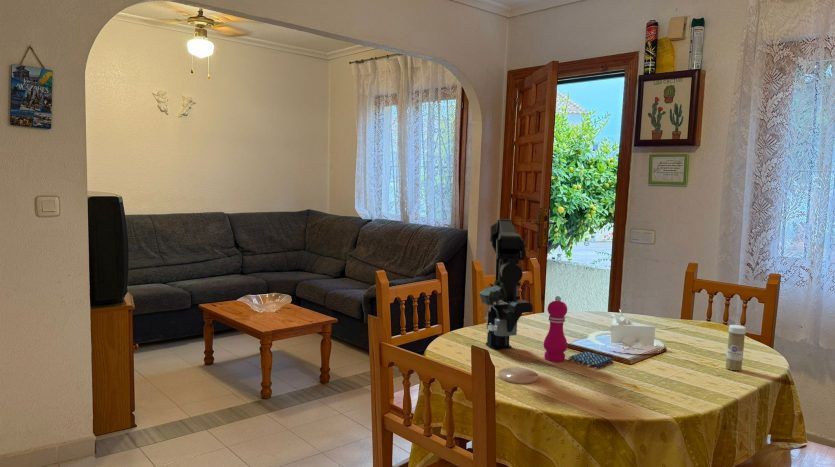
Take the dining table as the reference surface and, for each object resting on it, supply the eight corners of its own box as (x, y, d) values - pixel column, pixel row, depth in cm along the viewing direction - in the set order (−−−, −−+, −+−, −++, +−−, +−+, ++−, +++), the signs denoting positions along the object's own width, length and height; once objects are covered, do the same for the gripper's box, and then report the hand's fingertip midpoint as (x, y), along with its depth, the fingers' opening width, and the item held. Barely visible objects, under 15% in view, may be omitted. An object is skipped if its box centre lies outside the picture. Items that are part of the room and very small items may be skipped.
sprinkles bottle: (726, 370, 180) (730, 327, 178) (724, 365, 184) (728, 323, 183) (743, 372, 178) (747, 328, 177) (741, 368, 182) (745, 325, 181)
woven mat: (583, 355, 191) (584, 349, 191) (614, 364, 184) (614, 358, 184) (566, 362, 184) (566, 356, 184) (597, 371, 177) (597, 365, 176)
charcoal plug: (511, 331, 179) (512, 316, 178) (519, 334, 175) (519, 319, 175) (485, 333, 175) (486, 318, 175) (492, 337, 172) (493, 322, 171)
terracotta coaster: (523, 368, 176) (523, 365, 176) (545, 381, 166) (545, 378, 166) (491, 372, 171) (491, 369, 171) (512, 385, 162) (512, 382, 161)
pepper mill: (567, 357, 188) (571, 295, 186) (565, 363, 181) (569, 299, 179) (544, 354, 190) (547, 292, 188) (541, 360, 184) (544, 297, 181)
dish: (584, 349, 198) (586, 316, 197) (591, 331, 221) (593, 301, 220) (663, 360, 189) (666, 325, 188) (663, 340, 212) (665, 309, 211)
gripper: (468, 273, 179) (466, 324, 181) (501, 284, 162) (498, 340, 164) (500, 272, 184) (498, 321, 185) (535, 283, 167) (532, 337, 168)
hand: (505, 330), depth 176 cm, fingers closed on charcoal plug, 4 cm apart
